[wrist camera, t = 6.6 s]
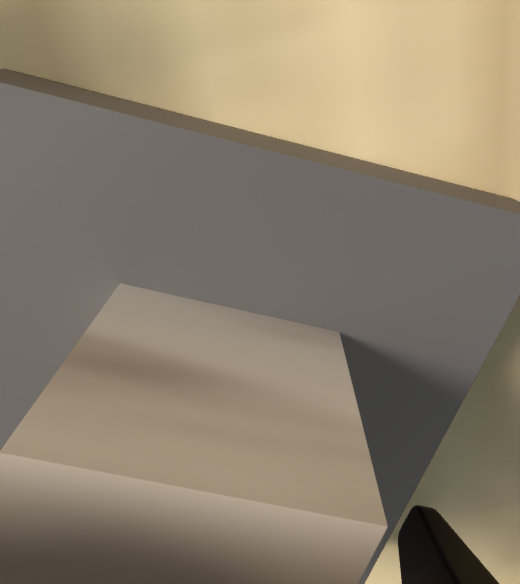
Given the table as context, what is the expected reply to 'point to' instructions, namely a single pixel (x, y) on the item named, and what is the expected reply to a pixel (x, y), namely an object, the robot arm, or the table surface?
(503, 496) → the table surface
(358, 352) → the base board
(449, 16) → the table surface
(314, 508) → the cream block
